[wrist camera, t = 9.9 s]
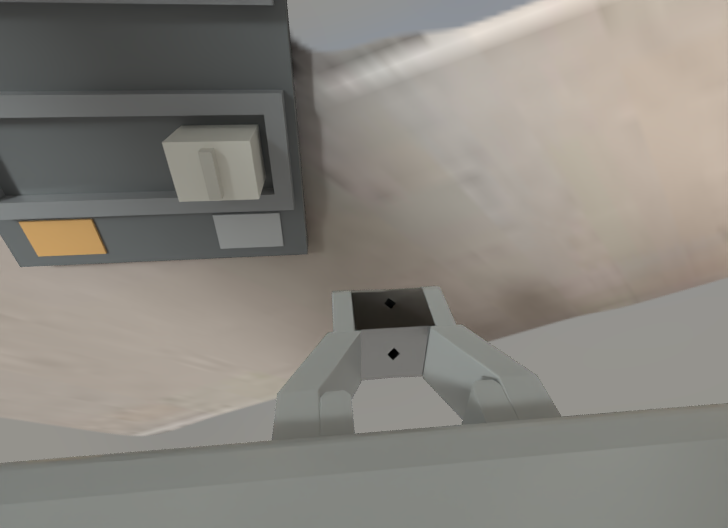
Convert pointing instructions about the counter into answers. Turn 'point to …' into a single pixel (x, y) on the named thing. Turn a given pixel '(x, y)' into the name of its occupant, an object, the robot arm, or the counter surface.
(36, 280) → the counter surface
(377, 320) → the robot arm
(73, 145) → the switch bank
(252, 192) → the tab
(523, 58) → the counter surface
